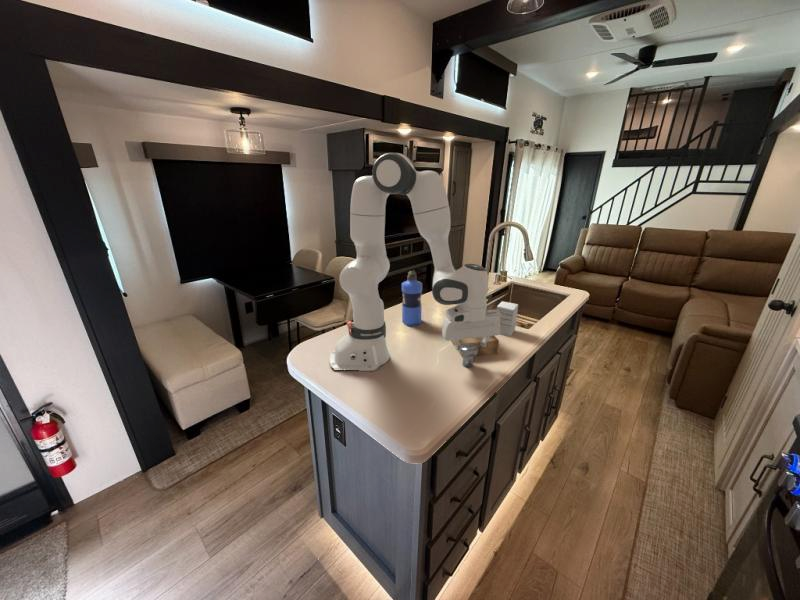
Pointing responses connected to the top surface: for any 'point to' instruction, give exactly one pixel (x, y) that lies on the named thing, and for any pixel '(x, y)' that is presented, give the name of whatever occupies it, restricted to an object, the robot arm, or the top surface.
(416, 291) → the water bottle
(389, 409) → the top surface
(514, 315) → the supplement box
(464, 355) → the grey light bulb
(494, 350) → the block
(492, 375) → the top surface
